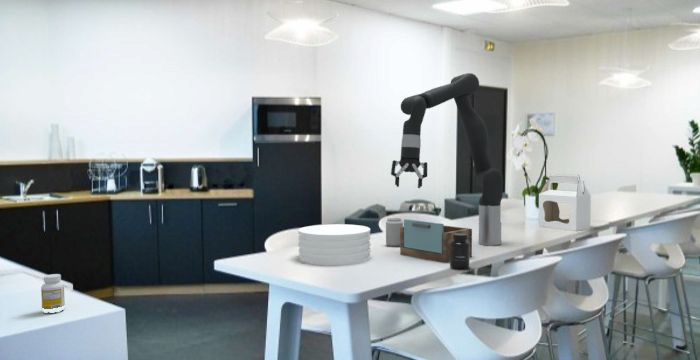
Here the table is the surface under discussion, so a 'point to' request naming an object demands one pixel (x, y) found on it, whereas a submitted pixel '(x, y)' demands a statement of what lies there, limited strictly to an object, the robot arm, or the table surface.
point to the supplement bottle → (459, 252)
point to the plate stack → (334, 244)
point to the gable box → (577, 199)
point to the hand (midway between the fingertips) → (408, 187)
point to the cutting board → (423, 235)
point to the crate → (447, 240)
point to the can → (393, 231)
